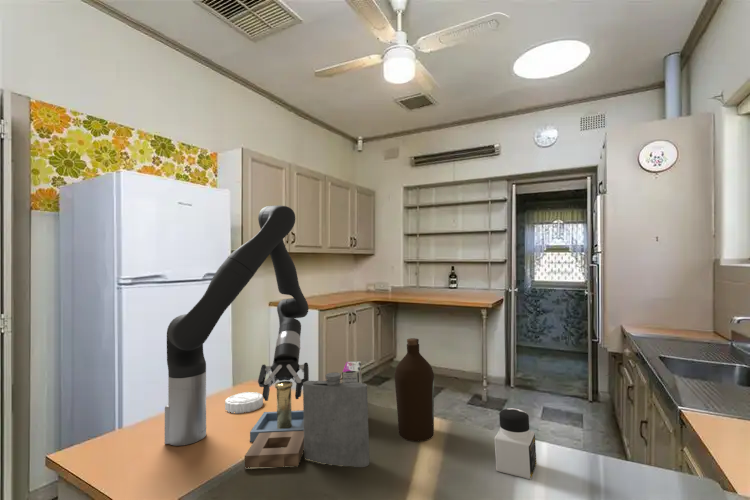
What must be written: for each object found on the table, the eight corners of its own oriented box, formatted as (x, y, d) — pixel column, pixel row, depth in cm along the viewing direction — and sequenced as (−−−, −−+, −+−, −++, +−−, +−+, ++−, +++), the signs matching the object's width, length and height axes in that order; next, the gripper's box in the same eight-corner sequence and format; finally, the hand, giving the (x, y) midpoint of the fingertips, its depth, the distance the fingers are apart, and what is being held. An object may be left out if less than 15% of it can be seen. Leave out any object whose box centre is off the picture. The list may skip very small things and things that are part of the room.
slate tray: (250, 441, 96) (250, 432, 96) (264, 420, 110) (264, 412, 110) (303, 439, 97) (303, 429, 97) (311, 418, 111) (310, 409, 111)
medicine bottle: (531, 480, 75) (528, 420, 75) (495, 471, 78) (492, 414, 79) (536, 464, 81) (533, 408, 81) (503, 456, 84) (500, 403, 85)
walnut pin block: (244, 469, 82) (244, 456, 82) (259, 444, 94) (259, 432, 94) (298, 467, 83) (298, 453, 83) (306, 442, 95) (306, 430, 95)
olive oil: (403, 445, 91) (399, 344, 93) (391, 428, 102) (388, 337, 103) (442, 439, 94) (438, 341, 95) (428, 423, 104) (424, 334, 106)
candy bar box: (346, 415, 112) (345, 361, 113) (363, 415, 112) (361, 360, 113) (342, 431, 101) (341, 371, 102) (361, 431, 100) (359, 370, 101)
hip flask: (370, 460, 85) (368, 372, 86) (365, 470, 81) (363, 377, 82) (307, 453, 89) (306, 370, 90) (300, 462, 85) (298, 374, 86)
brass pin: (273, 430, 101) (273, 386, 102) (277, 423, 106) (277, 381, 107) (291, 430, 101) (290, 385, 102) (294, 422, 106) (293, 380, 107)
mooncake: (270, 403, 126) (270, 392, 126) (246, 416, 115) (246, 404, 115) (242, 399, 130) (242, 389, 131) (216, 411, 119) (216, 400, 119)
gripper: (262, 343, 112) (253, 393, 100) (309, 341, 113) (305, 390, 101) (266, 356, 117) (258, 406, 105) (311, 354, 118) (308, 403, 106)
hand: (281, 398), depth 103 cm, fingers open, 8 cm apart
